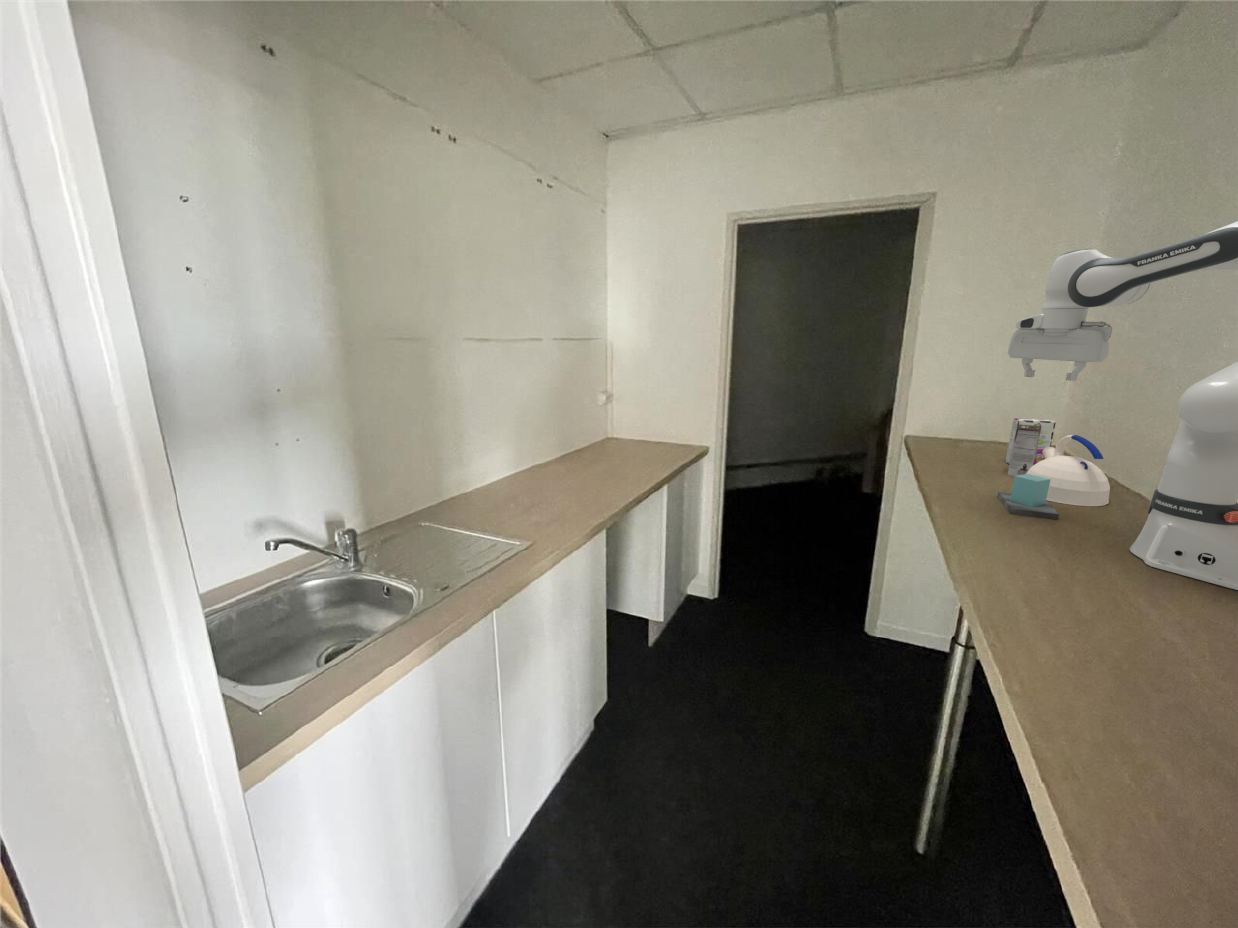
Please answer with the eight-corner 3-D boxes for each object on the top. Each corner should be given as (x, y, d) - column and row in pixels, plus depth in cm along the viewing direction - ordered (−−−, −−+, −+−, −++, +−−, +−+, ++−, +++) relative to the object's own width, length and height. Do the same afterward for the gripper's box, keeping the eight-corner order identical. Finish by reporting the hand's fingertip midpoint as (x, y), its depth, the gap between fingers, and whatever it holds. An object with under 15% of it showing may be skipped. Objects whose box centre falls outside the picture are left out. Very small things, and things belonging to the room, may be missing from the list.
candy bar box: (1040, 464, 187) (1050, 419, 183) (1046, 467, 182) (1057, 421, 178) (1004, 461, 190) (1013, 417, 186) (1009, 465, 186) (1019, 419, 181)
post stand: (997, 496, 151) (1002, 471, 149) (1039, 501, 147) (1045, 475, 145) (1010, 513, 137) (1016, 486, 135) (1058, 519, 133) (1064, 491, 131)
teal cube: (1044, 504, 140) (1050, 479, 139) (1031, 506, 138) (1037, 481, 136) (1022, 497, 145) (1027, 473, 144) (1009, 500, 143) (1014, 475, 141)
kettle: (1073, 486, 162) (1087, 429, 157) (1129, 508, 142) (1147, 444, 138) (1003, 483, 164) (1015, 427, 159) (1049, 505, 144) (1064, 442, 139)
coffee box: (1007, 469, 180) (1017, 423, 176) (1031, 472, 176) (1041, 426, 172) (1006, 475, 173) (1016, 427, 169) (1031, 478, 169) (1041, 430, 165)
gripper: (1121, 321, 119) (1106, 382, 123) (1025, 321, 137) (1014, 374, 141) (1106, 321, 117) (1091, 383, 120) (1010, 321, 135) (999, 375, 139)
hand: (1049, 378), depth 131 cm, fingers open, 8 cm apart
